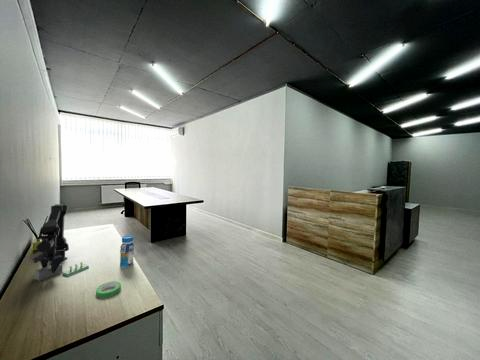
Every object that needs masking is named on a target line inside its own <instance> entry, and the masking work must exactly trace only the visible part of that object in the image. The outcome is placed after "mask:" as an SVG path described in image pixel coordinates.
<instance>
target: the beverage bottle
mask: <svg viewBox="0 0 480 360" xmlns="http://www.w3.org/2000/svg"><path fill="white" fill-rule="evenodd" d="M133 241H134V236H133V235H124V236H122V237H121V245H120V250H119V253H120V256H119V257H120V260H119V267H120V268H122V269H124V268H126V267H127V268H130V267H132V266H133V265H134V256H135V255H134V254H135V253H134V252H135V244H134V242H133ZM129 266H130V267H129Z"/></svg>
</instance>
